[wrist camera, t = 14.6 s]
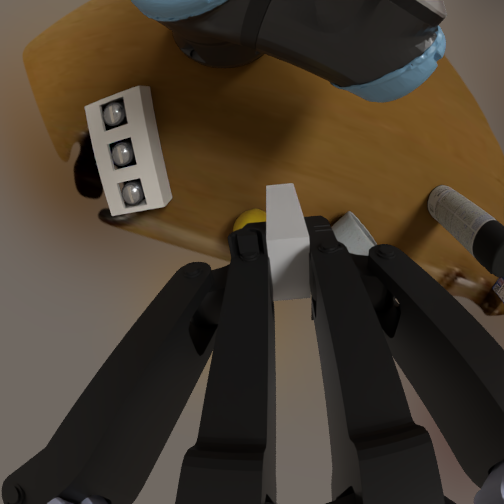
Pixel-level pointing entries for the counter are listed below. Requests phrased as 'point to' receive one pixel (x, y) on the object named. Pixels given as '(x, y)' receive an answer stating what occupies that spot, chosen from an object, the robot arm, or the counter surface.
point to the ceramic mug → (353, 234)
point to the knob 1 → (115, 114)
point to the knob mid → (123, 153)
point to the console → (144, 148)
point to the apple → (249, 218)
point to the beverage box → (499, 288)
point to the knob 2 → (133, 192)
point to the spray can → (470, 227)
